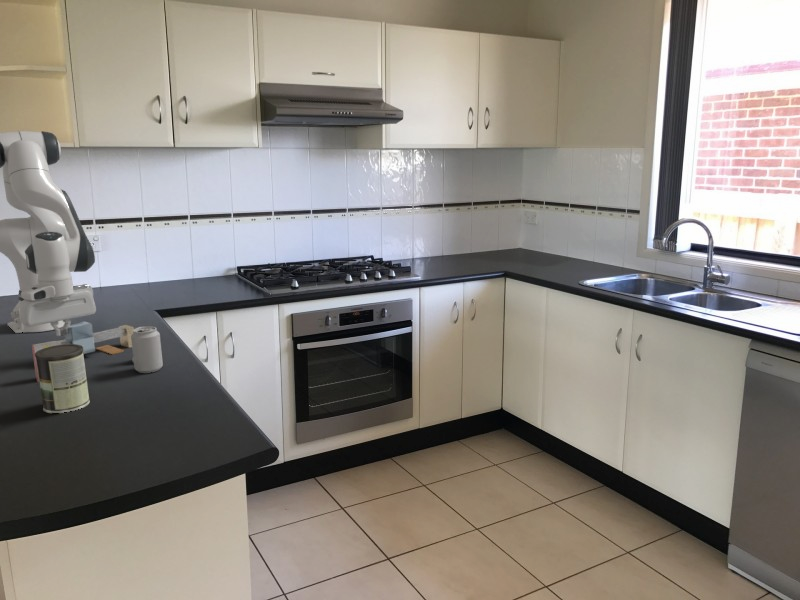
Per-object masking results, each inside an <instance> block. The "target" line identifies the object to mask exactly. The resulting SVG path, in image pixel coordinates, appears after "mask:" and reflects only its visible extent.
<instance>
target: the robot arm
mask: <svg viewBox="0 0 800 600" xmlns="http://www.w3.org/2000/svg"><path fill="white" fill-rule="evenodd" d="M61 149H62V148H61V144H60V141H59V140H58V138H57V136H56V135H55V134H54V133H52V132H48V131H33V130H30V131H29V130H18V131H6V132H0V169H1V168H2V176H3V184H4V191H5V198H6V201H7V202H8V204H9V205H10V206H11V207H13V208H14V209H17V210H19V211H22V212H25V213H27V214H28V215H29V217H15V218H5V219H1V220H0V253H1V254H2V255H3V256H5V257H7V258H8V259H9V261H10V262H11V264H12V265H13V267H14V269H15V273H16V276H17V280H18V286H19V289H18V295H17V296H18V300H19V301H18V303H17V304H16V305H15V306H14V308H13V311H11V312H9V316H10V319H11V320H13V321H10V322H7V327H8V326H9V327H10V328H11V329H12V330H13V331H14V332H15V334H19V333H20V334H23V333H39V332H49V331H53V330H55V334H56V336H57V337H61V336H65V335H67V334H68V328H69V326H70V324H72V319H76V318H83V317H85V316H91V315H95V313H96V312H97V306H96V303H95V300H94V299H95V298H94V290H93V287H92V286H90V285H88V284H87V283H86V284H85V283H83V284H82V285H81V284H80V285H74V284H73V275H72V274H71V272H73V273H79V272H81V273H82V272H85V273H86V272H87V271H89V270H90V269H91V268H92V267H93V265H94V264H95V262H96V255H95V250H94V248H93V246H92V244H91V242H90V239H88V237H87V234H86V233H85V230H84V227H83V225H82V223H81V220H80V218H79V216H78V214H77V211H76V210H75V207H74V204H73V203H72V200H71V198H70V196H69V194H68V193H67V192H66V190H64V189H61V188H60V187H59V186H57V184H56V183H55V182H54V180H53V178H52V176H51V172H50V168H49V166H52V165H54V164H57V162H58V161H60V157H61V153H62V151H61ZM63 325H64V326H63ZM9 327H8V328H9ZM10 328H9V329H10ZM11 329H10V330H11ZM12 330H11V331H12ZM13 331H12V332H13ZM14 332H13V333H14ZM22 332H23V333H22Z"/></svg>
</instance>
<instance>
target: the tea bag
mask: <svg viewBox="0 0 800 600" xmlns="http://www.w3.org/2000/svg"><path fill="white" fill-rule="evenodd" d="M53 341H54V342H50V341H46V342H47V343H46V342H42V343H35V344H31V351H32V357H33V358H32V359H33V364H34V365H33V366H34V372H35V373H34V374H35V378H36V382H37V383H40V381H39V374H38V367H37V361H36V357H35V353H36V352H37V351H39V350H41V349H44V348H47V347H51V346H56V345H60V340H53Z"/></svg>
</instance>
